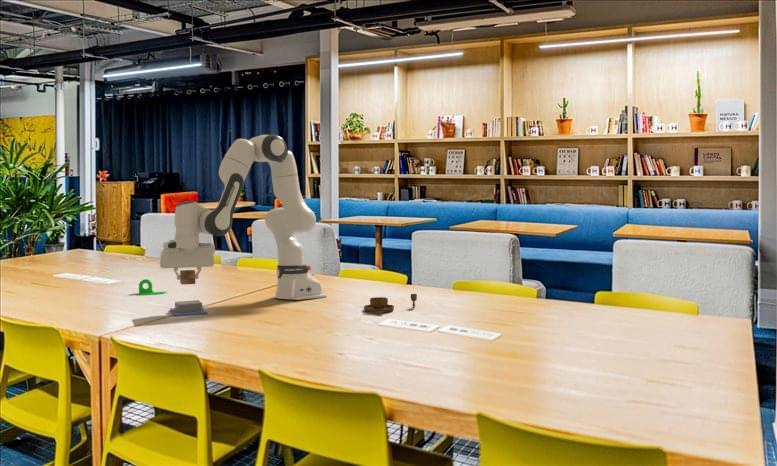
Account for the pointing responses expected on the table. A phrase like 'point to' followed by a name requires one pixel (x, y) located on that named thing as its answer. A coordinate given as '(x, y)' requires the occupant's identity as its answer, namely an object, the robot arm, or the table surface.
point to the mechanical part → (149, 290)
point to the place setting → (383, 305)
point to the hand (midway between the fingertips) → (187, 279)
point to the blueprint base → (188, 308)
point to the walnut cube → (187, 277)
